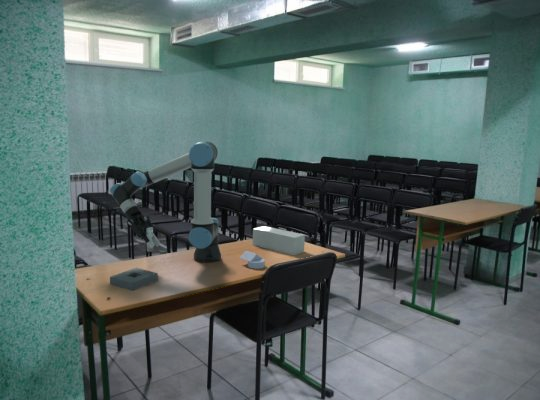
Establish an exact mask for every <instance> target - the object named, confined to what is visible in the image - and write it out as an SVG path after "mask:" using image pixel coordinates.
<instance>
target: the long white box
mask: <svg viewBox="0 0 540 400" xmlns="http://www.w3.org/2000/svg"><path fill="white" fill-rule="evenodd" d="M305 240H306V234H303V233H299V232H294V231H290V230H284V229H279V228H276V227H270V226H265V225H262V226H258V227H254V228H252V244H251V245H252V246H255V247H259V248H264V249H268V250H272V251H275V252H280V253H283V254H284V253H285V254H287V255H291V256H296V255H299V254H301V253H304V252H305V244H306V243H305Z"/></svg>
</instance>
